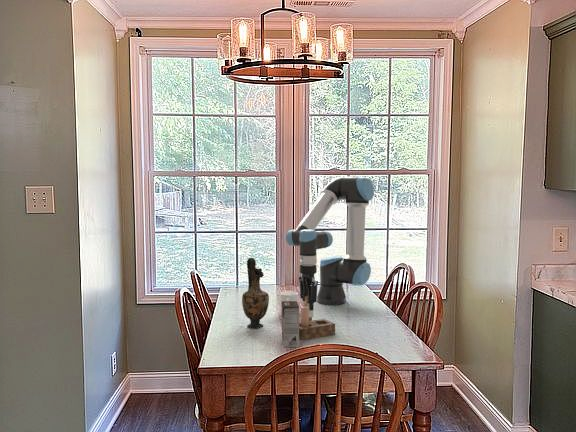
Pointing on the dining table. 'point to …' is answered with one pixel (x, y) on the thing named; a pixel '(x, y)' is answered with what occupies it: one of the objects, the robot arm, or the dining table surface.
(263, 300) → the vase
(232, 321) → the dining table surface
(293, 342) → the coffee box
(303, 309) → the terracotta peg
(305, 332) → the hole block
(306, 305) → the oak peg
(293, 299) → the mug
